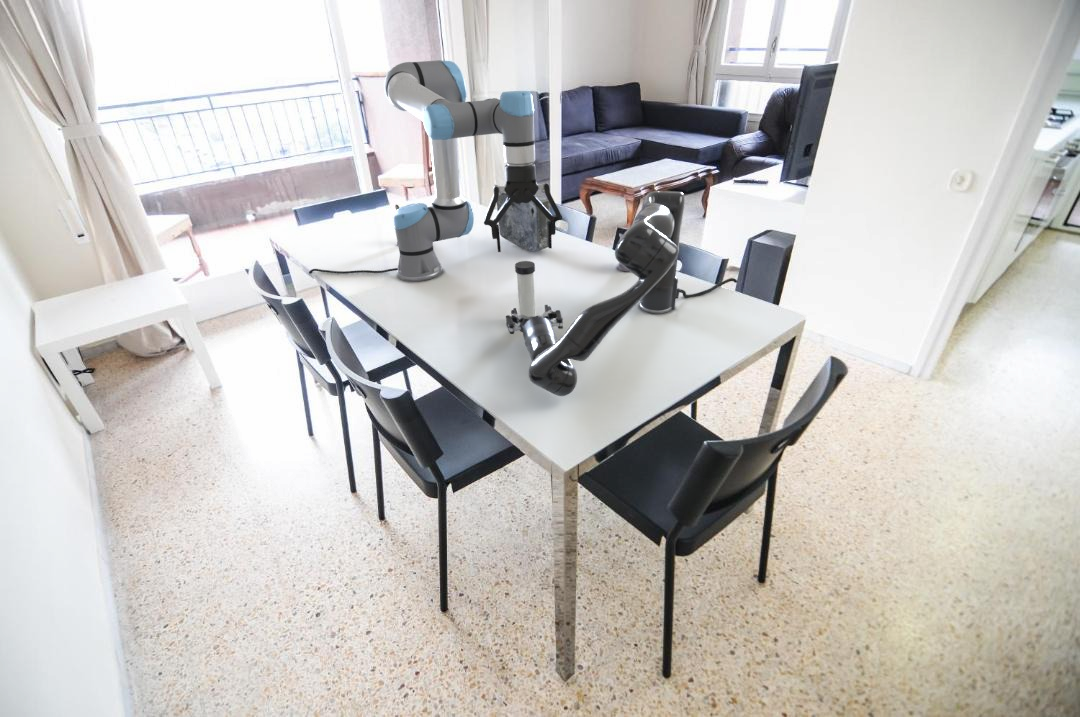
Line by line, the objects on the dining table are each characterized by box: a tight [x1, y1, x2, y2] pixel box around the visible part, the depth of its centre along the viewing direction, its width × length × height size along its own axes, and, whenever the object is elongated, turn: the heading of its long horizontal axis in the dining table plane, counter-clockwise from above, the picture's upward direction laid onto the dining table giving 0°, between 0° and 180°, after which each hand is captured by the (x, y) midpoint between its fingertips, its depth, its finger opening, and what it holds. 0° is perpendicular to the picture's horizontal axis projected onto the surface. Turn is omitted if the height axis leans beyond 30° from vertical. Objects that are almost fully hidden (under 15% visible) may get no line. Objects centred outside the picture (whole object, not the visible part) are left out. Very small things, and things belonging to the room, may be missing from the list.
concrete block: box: [496, 191, 551, 252], centre depth 191 cm, size 27×9×20 cm, turn 36°
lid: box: [514, 260, 536, 275], centre depth 134 cm, size 5×5×2 cm
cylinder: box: [516, 272, 536, 317], centre depth 138 cm, size 4×4×17 cm
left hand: (524, 248), depth 131 cm, fingers open, 13 cm apart
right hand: (530, 309), depth 133 cm, fingers open, 8 cm apart
